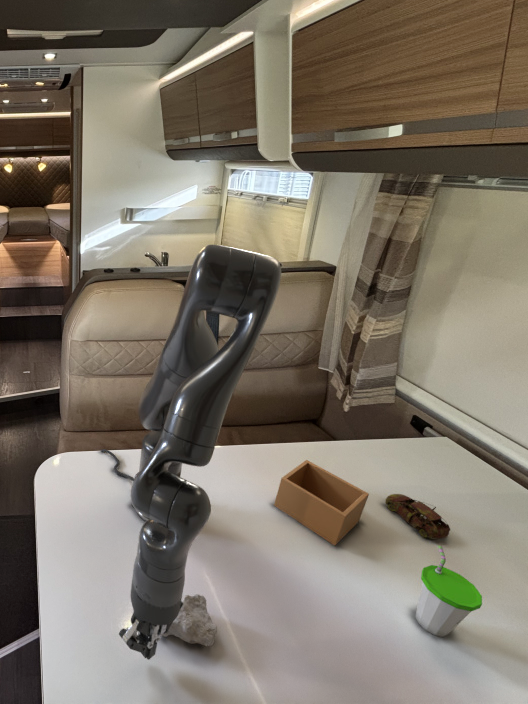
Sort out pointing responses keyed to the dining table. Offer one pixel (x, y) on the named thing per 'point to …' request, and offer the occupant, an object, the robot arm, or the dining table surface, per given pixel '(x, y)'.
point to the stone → (193, 622)
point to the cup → (445, 599)
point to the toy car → (419, 516)
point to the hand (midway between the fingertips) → (146, 652)
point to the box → (321, 501)
